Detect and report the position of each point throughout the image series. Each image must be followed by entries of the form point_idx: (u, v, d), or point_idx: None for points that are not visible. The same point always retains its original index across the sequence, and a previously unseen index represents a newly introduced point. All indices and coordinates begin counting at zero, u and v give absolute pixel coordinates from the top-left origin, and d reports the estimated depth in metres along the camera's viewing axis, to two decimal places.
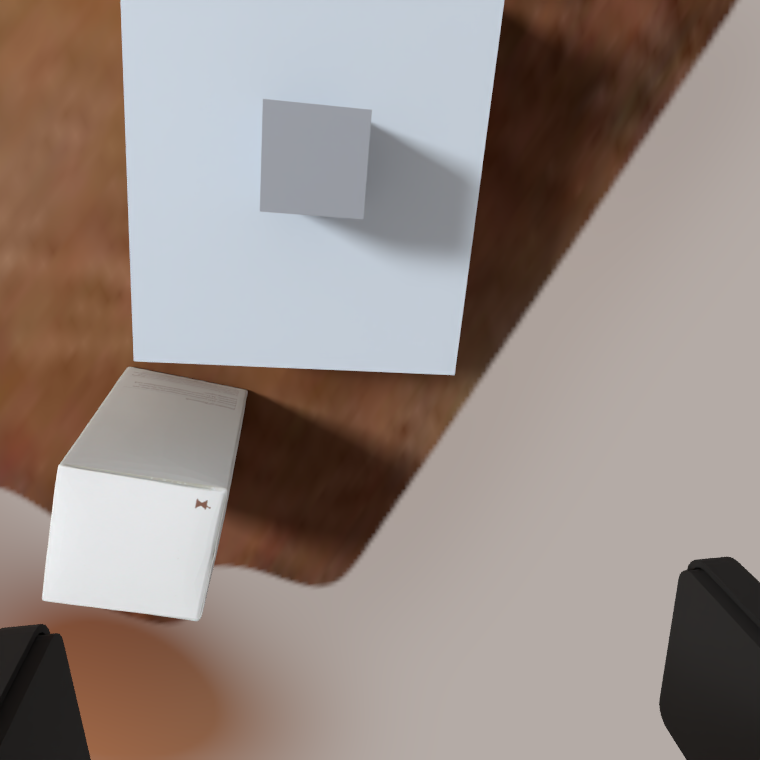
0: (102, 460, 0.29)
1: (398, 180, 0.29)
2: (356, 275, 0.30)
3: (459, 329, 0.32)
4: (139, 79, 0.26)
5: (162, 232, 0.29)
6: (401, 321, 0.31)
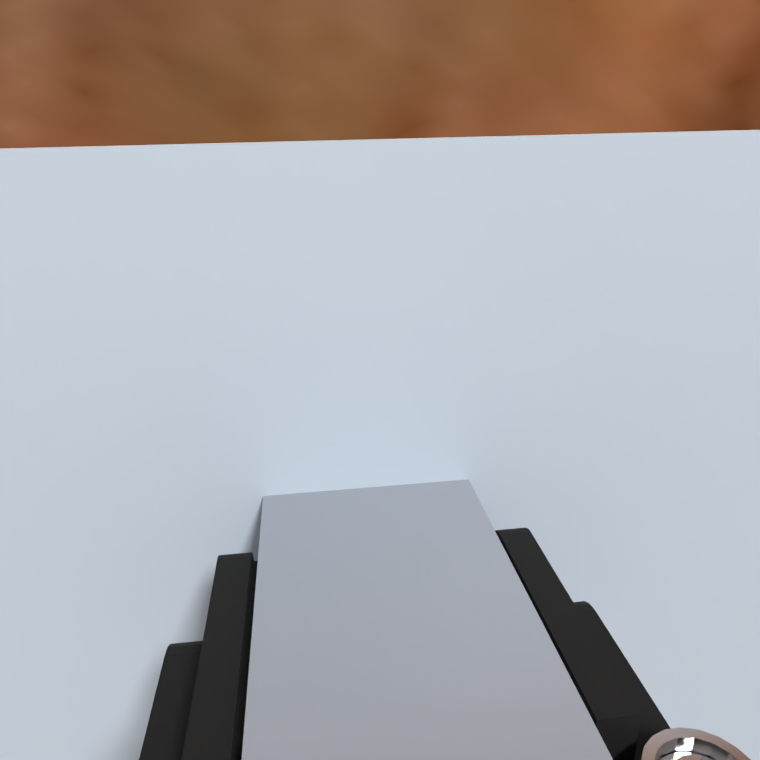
0: None
1: None
2: (112, 703, 0.13)
3: None
4: (509, 179, 0.10)
5: (112, 246, 0.10)
6: None
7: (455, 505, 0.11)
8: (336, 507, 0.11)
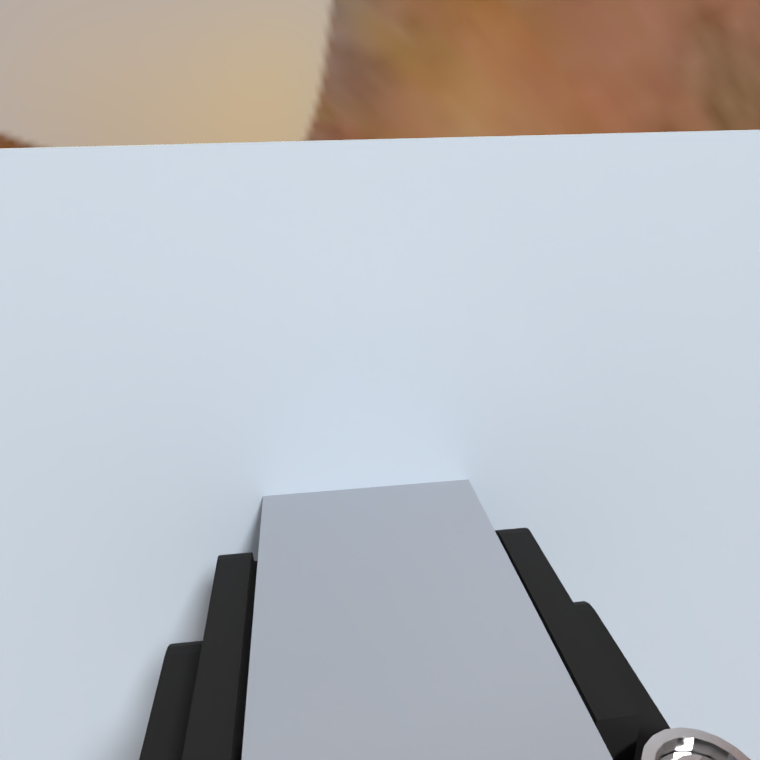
0: None
1: None
2: (112, 703, 0.12)
3: None
4: (509, 179, 0.10)
5: (112, 246, 0.10)
6: None
7: (455, 505, 0.11)
8: (336, 507, 0.11)
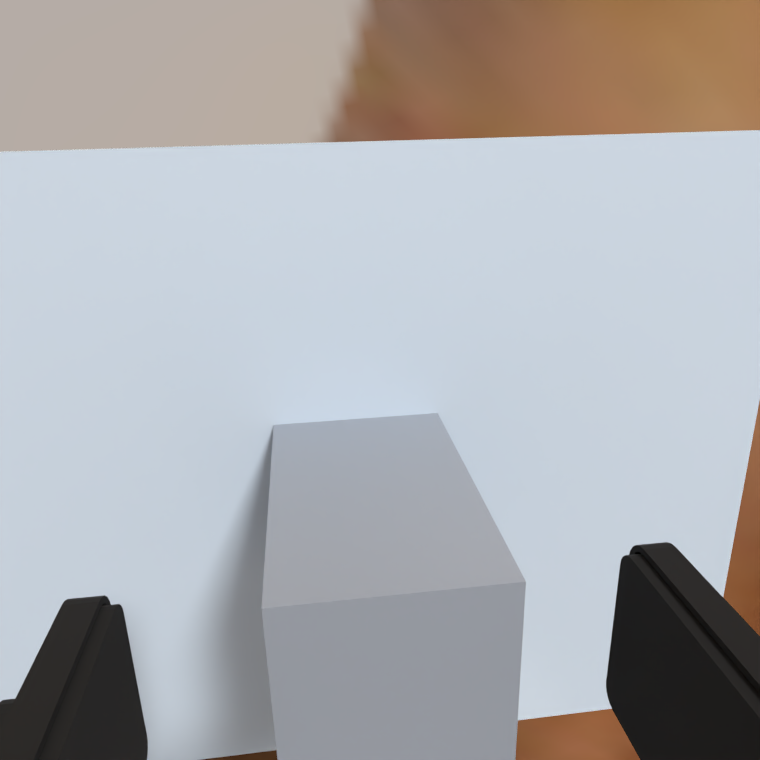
0: None
1: None
2: (151, 597, 0.15)
3: None
4: (464, 172, 0.13)
5: (158, 224, 0.13)
6: None
7: (425, 429, 0.14)
8: (331, 431, 0.14)
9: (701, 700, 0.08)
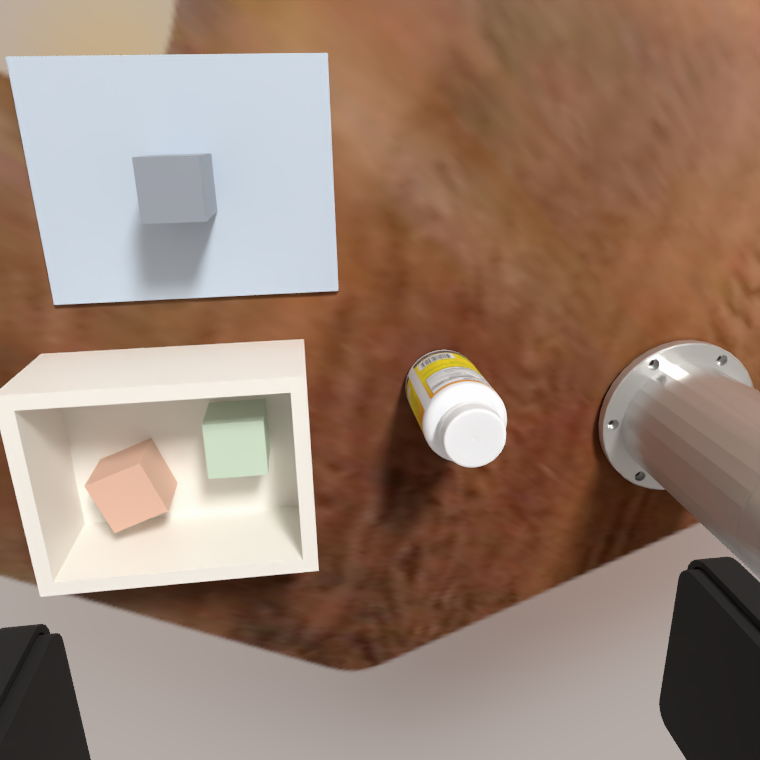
0: None
1: (182, 244, 0.44)
2: (112, 223, 0.43)
3: (89, 302, 0.45)
4: (210, 65, 0.41)
5: (112, 80, 0.40)
6: (86, 259, 0.44)
7: None
8: (171, 154, 0.42)
9: None
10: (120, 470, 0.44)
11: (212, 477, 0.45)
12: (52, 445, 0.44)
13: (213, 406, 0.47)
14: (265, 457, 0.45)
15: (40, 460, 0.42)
